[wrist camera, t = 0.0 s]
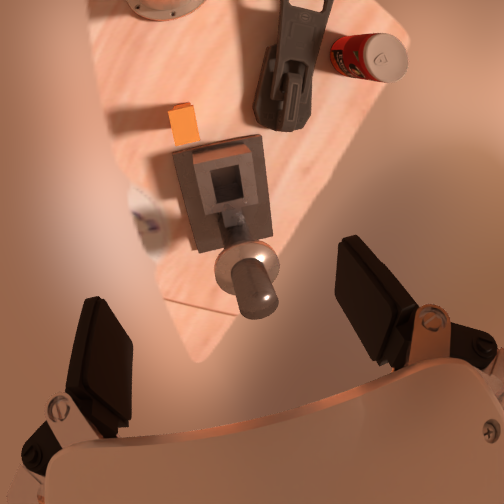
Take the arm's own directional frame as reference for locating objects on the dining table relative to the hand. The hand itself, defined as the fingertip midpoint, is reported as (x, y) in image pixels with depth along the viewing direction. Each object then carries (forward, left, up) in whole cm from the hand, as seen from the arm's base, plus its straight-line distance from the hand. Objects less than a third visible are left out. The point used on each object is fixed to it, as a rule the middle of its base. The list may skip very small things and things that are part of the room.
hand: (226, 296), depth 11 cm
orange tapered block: (-2, -1, -37) cm, 37 cm away
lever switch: (+13, +3, -37) cm, 39 cm away
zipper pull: (-9, +16, -37) cm, 41 cm away
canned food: (-9, +27, -37) cm, 47 cm away
